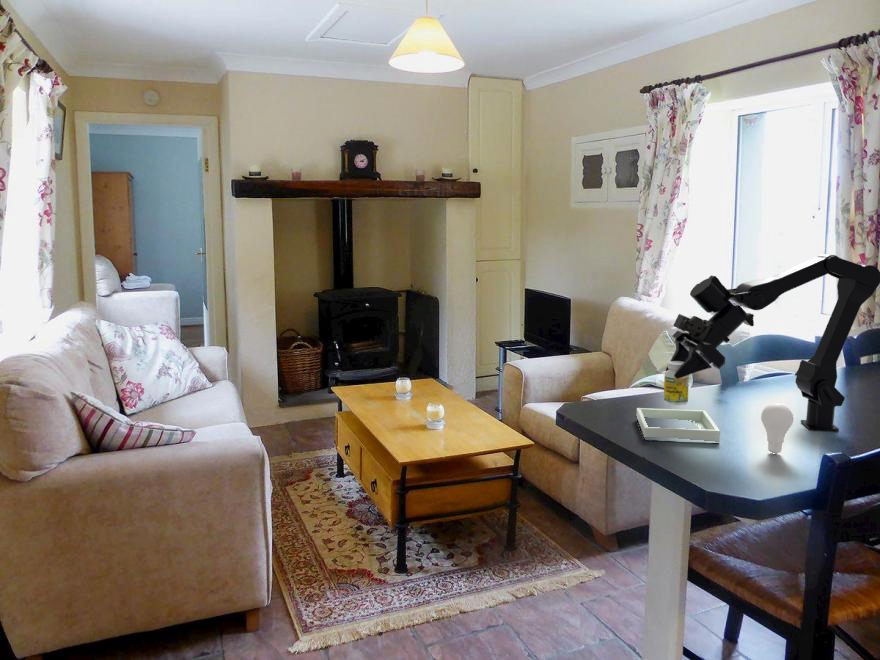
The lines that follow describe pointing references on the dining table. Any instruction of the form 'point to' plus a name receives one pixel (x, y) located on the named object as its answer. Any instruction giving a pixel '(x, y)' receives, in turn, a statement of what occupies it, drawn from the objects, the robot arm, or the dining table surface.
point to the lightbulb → (776, 425)
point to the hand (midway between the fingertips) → (671, 374)
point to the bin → (699, 416)
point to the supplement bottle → (675, 385)
